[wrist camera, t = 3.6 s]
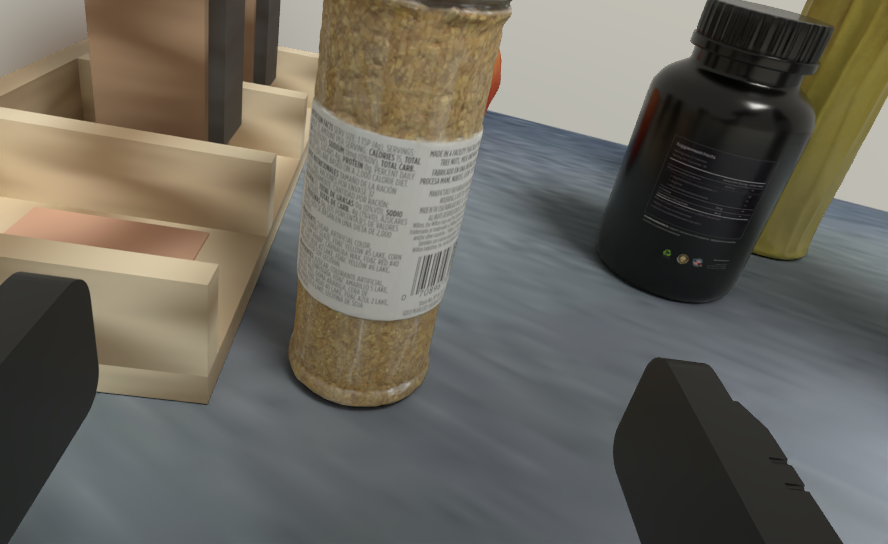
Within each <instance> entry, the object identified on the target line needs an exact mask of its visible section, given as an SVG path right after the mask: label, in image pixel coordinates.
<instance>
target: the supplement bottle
mask: <svg viewBox="0 0 888 544" xmlns="http://www.w3.org/2000/svg"><path fill="white" fill-rule="evenodd" d="M833 31H834V26H832V25H830V24H828V23H825V22H823V21H820V20H817V19H814V18H811V17H808V16H804V15H801V14H797V13H793V12H790V11H786V10H782V9H778V8H774V7H770V6H766V5H761V4H757V3H752V2H747V1H743V0H707V2H706V5H705V7H704V10H703V12H702V15H701V18H700V20H699V23H698V26H697V29H695V30H694V32H693V35H692V37H691V40H690V41H691V43H693V44H694V45H695V48H694V50H693V53H692V55H691V57H689V58H686V59H683V60H680V61H677V62H674V63H672V64H670V65H668V66H666V67H665V68H663V69H662V70H661V71H660V72H659V73H658V74H657V75H656V76H655V77H654V78H653V80H652V82H651V84H650V87H649V90H648V92H647V94H646V97H645V100H644V103H643V106H642V108H641V111H640V114H639V117H638V120H637V122H636V125H635V128H634V131H633V134H632V136H631V139H630V142H629V145H628V147H627V150H626V153H625V156H624V159H623V161H622V164H621V167H620V170H619V173H618V175H617V178H616V181H615V184H614V187H613V189H612V192H611V195H610V198H609V201H608V203H607V206H606V209H605V212H604V215H603V217H602V221H601V224H600V226H599V229H598V233H597V236H596V247H597V251H598V253H599V255H600V257H601V259H602V260H603V262H604V263H605V264H606V266H607V267H608V268H609V269H610V270H612V271H613V272H614V273H615V274H616V275H618V276H619V277H621V278H622V279H623V280H625V281H627V282H628V283H630V284H632V285H634V286H636V287H638V288H640V289H642V290H644V291H647V292H649V293H652V294H654V295H657V296H660V297H664V298H667V299H671V300H676V301H682V302H691V303H702V302H709V301H713V300H716V299H719V298H721V297H723V296H724V295H726V294H727V293H728V292H729V291H730V290H731V289H732V288H733V286H734V285H735V283H736V281H737V279H738V278H739V276H740V274H741V272H742V270H743V268H744V267H745V265H746V263H747V261H748V259H749V257H750V255H751V253H752V251H753V249H754V247H755V245H756V243H757V241H758V239H759V238H760V236H761V234H762V232H763V230H764V228H765V226H766V224H767V222H768V220H769V218H770V216H771V214H772V212H773V210H774V209H775V207H776V205H777V203H778V201H779V199H780V197H781V195H782V193H783V191H784V189H785V187H786V185H787V183H788V181H789V180H790V178H791V176H792V174H793V172H794V170H795V168H796V166H797V164H798V162H799V160H800V158H801V156H802V154H803V152H804V150H805V149H806V147H807V145H808V143H809V141H810V139H811V136H812V134H813V132H814V130H815V126H816V113H815V109H814V106H813V104H812V102H811V100H810V99H809V98H808V96H807V95H806V94H805V93H804V91H803V90H802V88H801V85H802V83H803V81H804V78H805V76H806V75H815V74H816V72H817V70H818V68H819V66H820V64H821V63H820V61H819V60H820V58H821V56H822V54H823V52H824V50H825V48H826V46H827V44H828V42H829V40H830V38H831V36H832V34H833Z"/></svg>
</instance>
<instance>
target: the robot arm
mask: <svg viewBox="0 0 888 544" xmlns="http://www.w3.org/2000/svg"><path fill="white" fill-rule="evenodd" d="M98 379H99V364H98V355H97V347H96V338H95V330H94V321H93V313H92V304H91V296H90V291H89V288H88V285H87V283H86V282H85V281H84V280H82V279H75V278H67V277H60V276H52V275H45V274H37V273H29V272H21V271H20V272H16V273H14V274H12V275H11V276H10V277H8V278H7V279H6V280H5V281H4V282H3V283H2V284H1V285H0V544H8V542H9V541H10V539H11V537H12V536H13V534H14V532H15V531H16V529H17V528H18V526H19V524H20V523H21V521H22V520H23V518H24V516H25V515H26V513H27V511H28V510H29V508H30V507H31V505H32V503H33V502H34V500H35V498H36V497H37V495H38V494H39V492H40V490H41V489H42V487H43V486H44V484H45V482H46V481H47V479H48V477H49V476H50V474H51V473H52V471H53V469H54V468H55V466H56V464H57V463H58V461H59V460H60V458H61V456H62V455H63V453H64V452H65V450H66V448H67V447H68V445H69V443H70V442H71V440H72V439H73V437H74V435H75V434H76V432H77V430H78V429H79V427H80V426H81V424H82V422H83V421H84V419H85V418H86V416H87V414H88V412H89V410H90V408H91V406H92V403H93V401H94V398H95V394H96V390H97V386H98ZM613 458H614V465H615V470H616V473H617V476H618V479H619V482H620V485H621V487H622V490H623V493H624V496H625V499H626V502H627V505H628V507H629V510H630V513H631V516H632V519H633V522H634V525H635V528H636V530H637V533H638V536H639V539H640V542H641V544H843V543H842V541H841V540H840V538H839V537H838V535H837V534H836V532H835V530H834V529H833V527H832V526H831V524H830V523H829V521H828V520H827V518H826V517H825V515H824V514H823V512H822V511H821V509H820V508H819V506H818V505H817V503H816V502H815V500H814V499H813V497H812V496H811V494H810V492H807V491H805V490H804V483H803V482H802V480H801V479H800V477H799V476H798V474H797V473H796V471H795V470H794V468H793V467H792V466H791V465H788V464H787V460H788V459H787V458H786V456H785V454H784V453H783V451H782V450H781V448H780V447H779V445H778V444H777V442H776V441H775V439H774V438H773V436H772V435H771V433H770V432H769V430H768V429H767V428H766V427H765V426H764V425H763V424H762V423H761V422H760V421H758V420H757V419H756V418H755V417H754V416H753V415H752V414H751V413H750V412H749V411H748V410H747V409H745V408H744V407H743V406H742V405H741V404H740V403H739V402H737V401H733V400H732V399H731V397H730V395H729V394H728V392H727V391H726V389H725V387H724V386H723V384H722V383H721V381H720V379H719V378H718V376H717V375H716V373H715V372H714V370H713V369H712V368H711V367H710V366H709V365H707V364H704V363H697V362H690V361H682V360H674V359H667V358H659V357H658V358H655V359H653V360H652V361H650V362H649V364H648V365H647V367H646V369H645V371H644V373H643V375H642V377H641V379H640V381H639V383H638V385H637V388H636V390H635V392H634V394H633V396H632V398H631V400H630V402H629V405H628V407H627V409H626V411H625V413H624V415H623V417H622V419H621V422H620V424H619V426H618V428H617V431H616V434H615V438H614V446H613Z"/></svg>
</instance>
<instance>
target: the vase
mask: <svg viewBox="0 0 888 544" xmlns="http://www.w3.org/2000/svg"><path fill="white" fill-rule="evenodd" d="M801 15H804V16H808V17H811V18H814V19H817V20H820V21H823V22H825V23H828V24H830V25H832V26H834V31H833V34H832V36H831V38H830V40H829V42H828V44H827V46H826V48H825V50H824V52H823V54H822V56H821V58H820V60H819V61H820V63H821V64H820V66H819V68H818V70H817V72H816V74H815V75H806V76H805V78H804V81H803V83H802V85H801V88H802V90H803V91H804V93H805V94H806V95H807V96H808V98H809V99H810V100H811V102H812V104H813V106H814V109H815V113H816V126H815V130H814V132H813V134H812V136H811V139H810V141H809V143H808V145H807V147H806V149H805V150H804V152H803V154H802V156H801V158H800V160H799V162H798V164H797V166H796V168H795V170H794V172H793V174H792V176H791V178H790V180H789V181H788V183H787V185H786V187H785V189H784V191H783V193H782V195H781V197H780V199H779V201H778V203H777V205H776V207H775V209H774V210H773V212H772V214H771V216H770V218H769V220H768V222H767V224H766V226H765V228H764V230H763V232H762V234H761V236H760V238H759V239H758V241H757V243H756V245H755V247H754V249H753V251H752V253H755V254H758V255H762V256H766V257H770V258H775V259H782V260H793V259H798V258H801V257H803V256H805V255H806V254H807V252H808V247H809V244H810V242H811V240H812V238H813V236H814V234H815V231H816V229H817V227H818V225H819V223H820V221H821V219H822V217H823V215H824V213H825V211H826V210H827V208H828V206H829V205H830V203H831V201H832V199H833V198H834V196H835V194H836V192H837V190H838V188H839V187H840V185H841V183H842V181H843V179H844V177H845V175H846V173H847V172H848V170H849V168H850V166H851V164H852V163H853V161H854V159H855V156H856V154H857V152H858V150H859V149H860V147H861V145H862V143H863V141H864V140H865V138H866V136H867V134H868V132H869V131H870V129H871V127H872V125H873V123H874V121H875V119H876V117H877V115H878V113H879V112H880V110H881V108H882V106H883V104H884V102H885V100H886V98H887V96H888V0H807V2H806V4H805V6H804V8H803V10H802V13H801Z"/></svg>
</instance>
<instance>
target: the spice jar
mask: <svg viewBox="0 0 888 544" xmlns="http://www.w3.org/2000/svg"><path fill="white" fill-rule="evenodd" d="M511 1H512V0H324V1H323V13H322V27H321V31H320V44H319V58H318V70H317V76H316V82H315V91H314V94H315V96H314V98H313V101H312V108H311V117H310V129H309V138H308V150H307V162H306V169H305V176H304V187H303V199H302V211H301V222H300V234H299V246H298V258H297V274H298V290H297V300H296V313H295V322H294V330H293V333H292V336H291V339H290V342H289V346H288V347H289V352H288V355H289V361H290V363H291V368H292V369H293V371H294V374H295V376H296V378H297V379H298V380H299V381H300V382H302V383H303V384H305V385H306V386H307V387H308V388H309V389H310V390H312V391H313V392H314V393H316V394H318V395H320V396H321V397H323V398H325V399H327V400H330V401H333V402H336V403H339V404H341V405H347V406H379V405H385V404H390V403H394V402H397V401H399V400H401V399H403V398H405V397H407V396H408V395H409V394H411V393H412V392H413V391H414V390H415V389H416V388H418V387H419V386H420V384H421V383H422V382H423V380H424V378H425V375H426V373H427V370H428V367H429V352H428V351H429V347H430V343H431V339H432V335H433V331H434V326H435V320H436V316H437V311H438V308H439V304H440V301H441V299H442V297H443V295H444V292H445V289H446V285H447V281H448V277H449V273H450V269H451V265H452V260H453V256H454V252H455V248H456V244H457V240H458V235H459V231H460V226H461V222H462V218H463V215H464V210H465V206H466V202H467V198H468V194H469V189H470V185H471V181H472V177H473V172H474V168H475V164H476V159H477V155H478V151H479V146H480V142H481V138H482V133H483V126H482V122H483V118H484V114H485V109H486V104H487V100H488V96H489V91H490V87H491V82H492V76H493V70H494V64H495V61H496V58H497V54H498V50H499V46H500V42H501V38H502V28H503V25H504V24H505V22H506V21H507V20H508V18H510V16H511V14H512V8H511V6H510V2H511Z"/></svg>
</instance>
